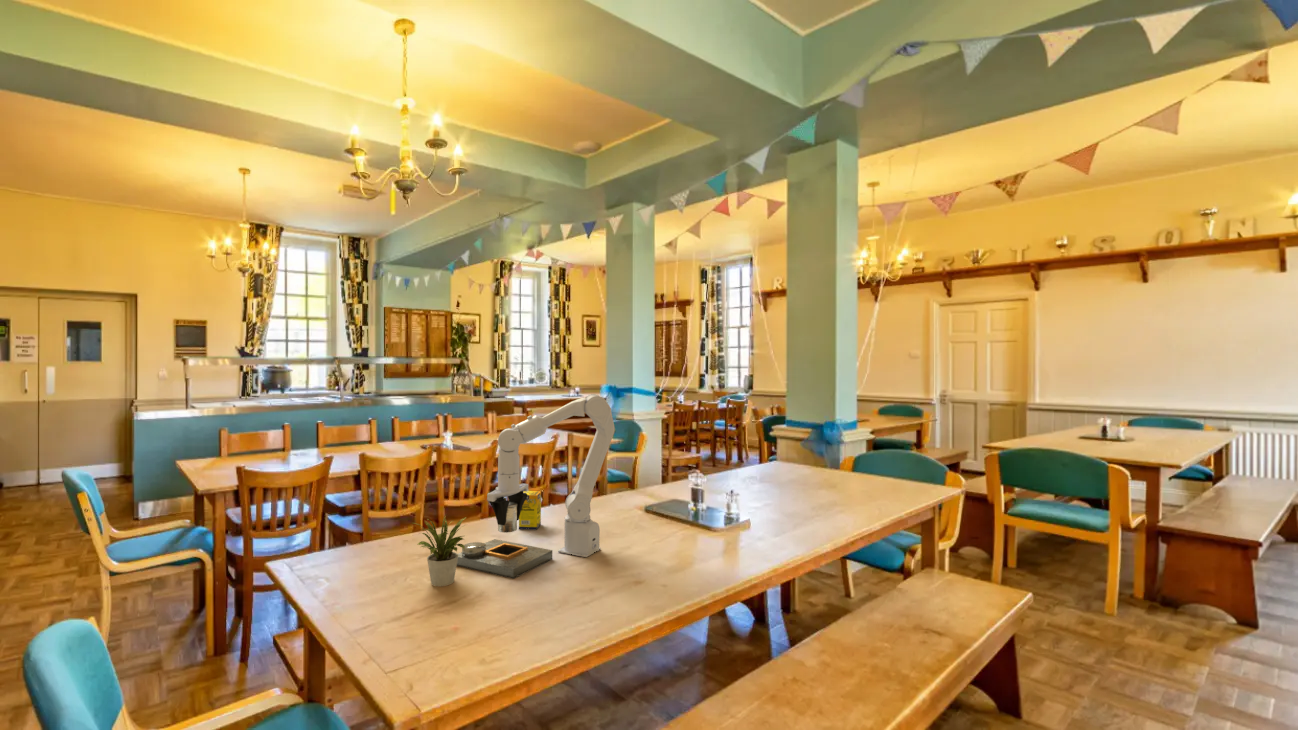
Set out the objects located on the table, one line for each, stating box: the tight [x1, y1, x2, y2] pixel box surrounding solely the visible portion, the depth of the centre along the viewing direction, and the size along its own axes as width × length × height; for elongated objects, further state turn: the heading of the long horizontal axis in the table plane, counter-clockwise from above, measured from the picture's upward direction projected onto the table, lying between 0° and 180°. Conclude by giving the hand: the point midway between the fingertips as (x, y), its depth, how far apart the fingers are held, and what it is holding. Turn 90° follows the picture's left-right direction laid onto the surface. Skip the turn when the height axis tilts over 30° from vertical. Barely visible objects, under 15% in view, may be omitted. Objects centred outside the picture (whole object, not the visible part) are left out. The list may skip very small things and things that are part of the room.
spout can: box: [497, 497, 518, 533], centre depth 161 cm, size 5×5×9 cm
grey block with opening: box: [456, 538, 553, 580], centre depth 155 cm, size 20×16×4 cm
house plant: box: [413, 514, 468, 587], centre depth 140 cm, size 14×14×16 cm
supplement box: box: [518, 490, 542, 530], centre depth 188 cm, size 6×6×11 cm
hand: (508, 522), depth 161 cm, fingers closed on spout can, 5 cm apart
